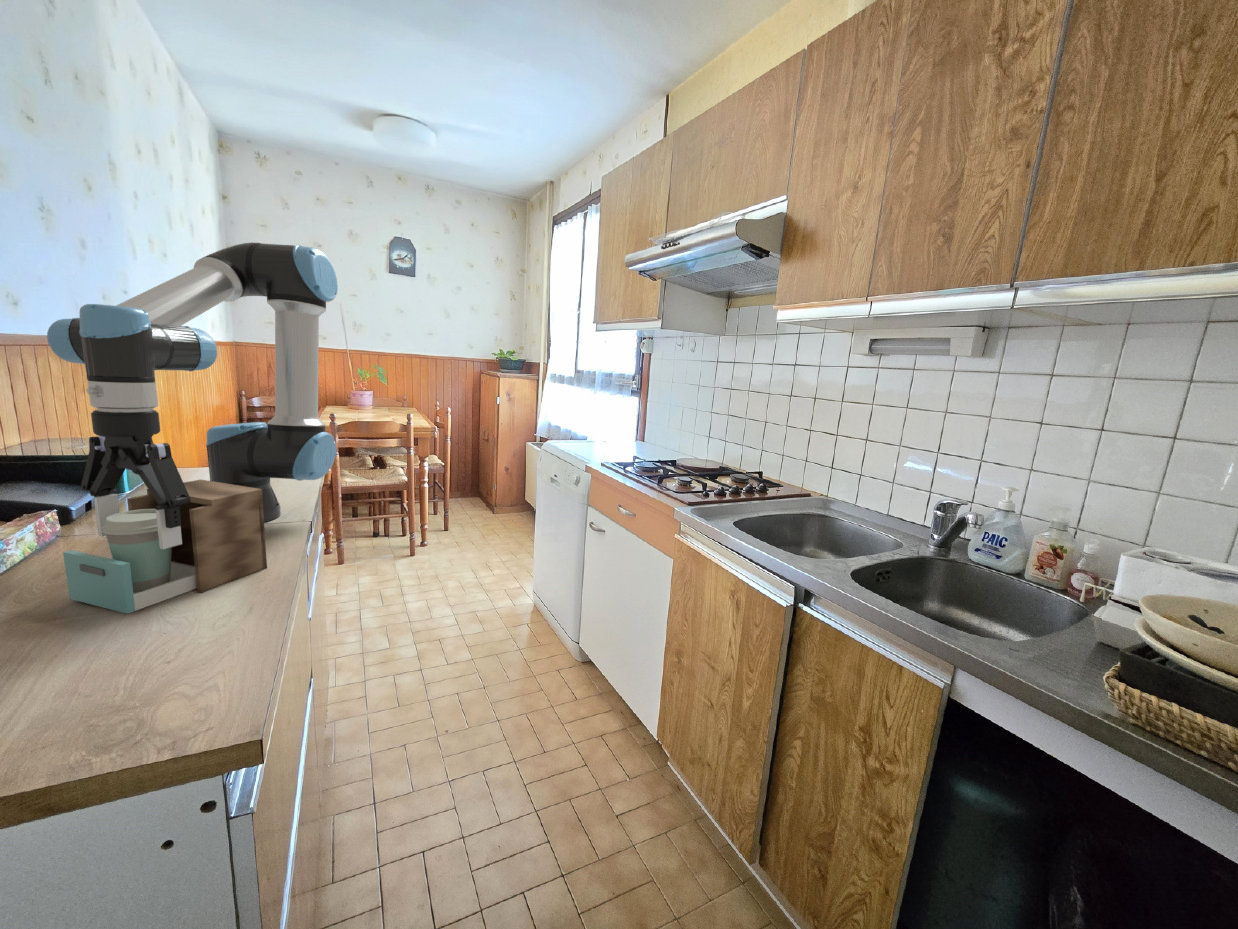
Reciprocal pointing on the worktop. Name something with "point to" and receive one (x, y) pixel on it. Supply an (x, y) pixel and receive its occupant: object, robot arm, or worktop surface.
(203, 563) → the cubby
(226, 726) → the worktop surface
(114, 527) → the coffee cup
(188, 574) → the teal drawer
